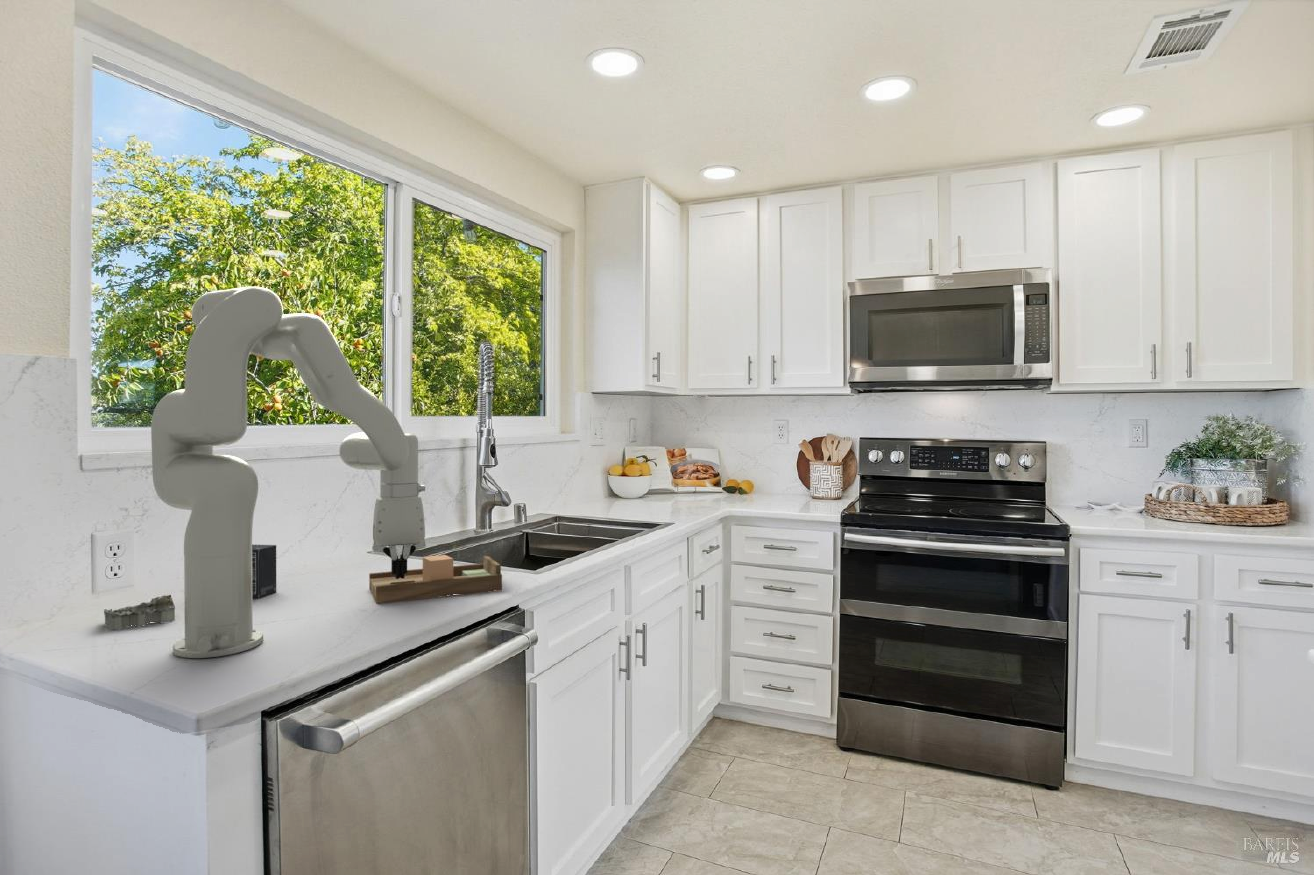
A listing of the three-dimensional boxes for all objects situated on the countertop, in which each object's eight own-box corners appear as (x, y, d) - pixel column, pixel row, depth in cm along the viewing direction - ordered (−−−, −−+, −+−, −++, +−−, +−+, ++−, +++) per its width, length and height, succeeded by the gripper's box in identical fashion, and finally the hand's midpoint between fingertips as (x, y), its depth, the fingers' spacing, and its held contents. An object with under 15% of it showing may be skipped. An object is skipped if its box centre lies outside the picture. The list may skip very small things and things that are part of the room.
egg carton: (174, 614, 136) (174, 593, 136) (176, 623, 130) (176, 601, 129) (104, 623, 129) (104, 601, 129) (102, 633, 123) (102, 609, 123)
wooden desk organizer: (501, 590, 156) (501, 565, 156) (376, 603, 144) (376, 576, 144) (486, 577, 168) (486, 554, 168) (369, 588, 156) (369, 564, 156)
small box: (278, 591, 153) (278, 543, 153) (259, 599, 147) (258, 549, 146) (233, 590, 154) (233, 542, 154) (211, 597, 148) (211, 547, 147)
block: (453, 581, 153) (453, 558, 153) (430, 584, 150) (430, 561, 150) (445, 577, 157) (445, 554, 157) (422, 580, 154) (422, 557, 154)
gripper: (432, 488, 156) (432, 570, 156) (359, 491, 149) (359, 577, 149) (439, 491, 149) (438, 577, 150) (363, 494, 142) (363, 584, 143)
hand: (399, 577), depth 150 cm, fingers closed
